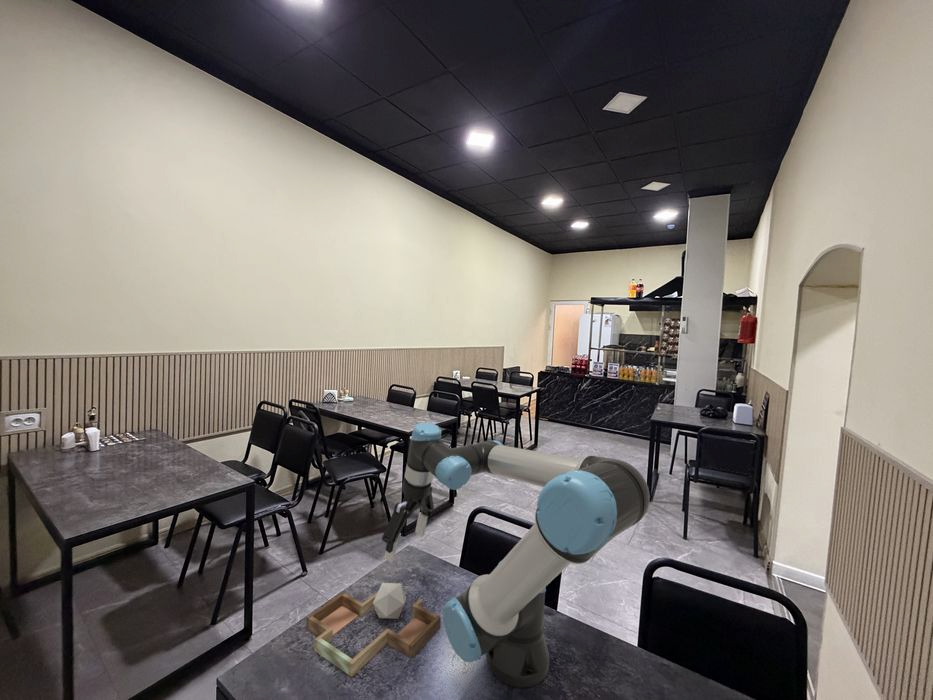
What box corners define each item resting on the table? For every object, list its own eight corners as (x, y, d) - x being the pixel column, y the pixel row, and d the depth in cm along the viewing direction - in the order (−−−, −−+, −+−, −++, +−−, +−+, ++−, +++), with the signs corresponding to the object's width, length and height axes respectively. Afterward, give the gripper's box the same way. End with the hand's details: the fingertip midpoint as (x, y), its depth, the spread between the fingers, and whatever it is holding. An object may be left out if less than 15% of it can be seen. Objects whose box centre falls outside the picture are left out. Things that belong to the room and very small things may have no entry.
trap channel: (445, 622, 105) (446, 611, 105) (377, 695, 83) (378, 681, 83) (369, 583, 120) (369, 573, 120) (294, 636, 98) (294, 625, 98)
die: (389, 634, 101) (412, 597, 104) (362, 612, 102) (385, 577, 105) (394, 623, 109) (415, 589, 112) (369, 603, 110) (390, 570, 113)
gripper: (432, 458, 116) (420, 519, 120) (375, 491, 94) (363, 564, 99) (453, 468, 112) (440, 530, 117) (399, 505, 91) (385, 580, 95)
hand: (405, 546), depth 108 cm, fingers open, 13 cm apart
